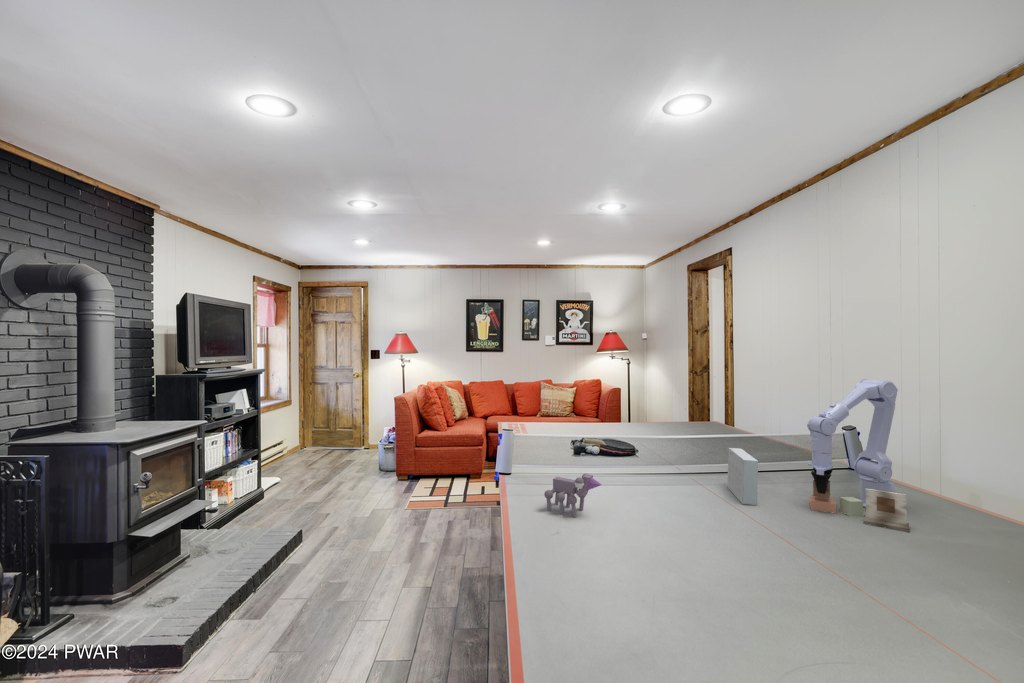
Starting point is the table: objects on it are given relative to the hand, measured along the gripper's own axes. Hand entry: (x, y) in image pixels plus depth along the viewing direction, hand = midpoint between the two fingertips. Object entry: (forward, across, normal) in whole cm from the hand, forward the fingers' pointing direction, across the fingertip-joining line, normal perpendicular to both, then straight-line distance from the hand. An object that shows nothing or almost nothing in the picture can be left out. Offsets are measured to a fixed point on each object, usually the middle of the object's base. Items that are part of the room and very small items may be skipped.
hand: (822, 491), depth 159 cm
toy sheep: (+6, +54, -66) cm, 86 cm away
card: (+6, +6, +17) cm, 19 cm away
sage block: (+6, 0, +8) cm, 10 cm away
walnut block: (+2, 0, 0) cm, 2 cm away
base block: (+6, 0, 0) cm, 6 cm away
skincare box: (+6, +2, -25) cm, 26 cm away
